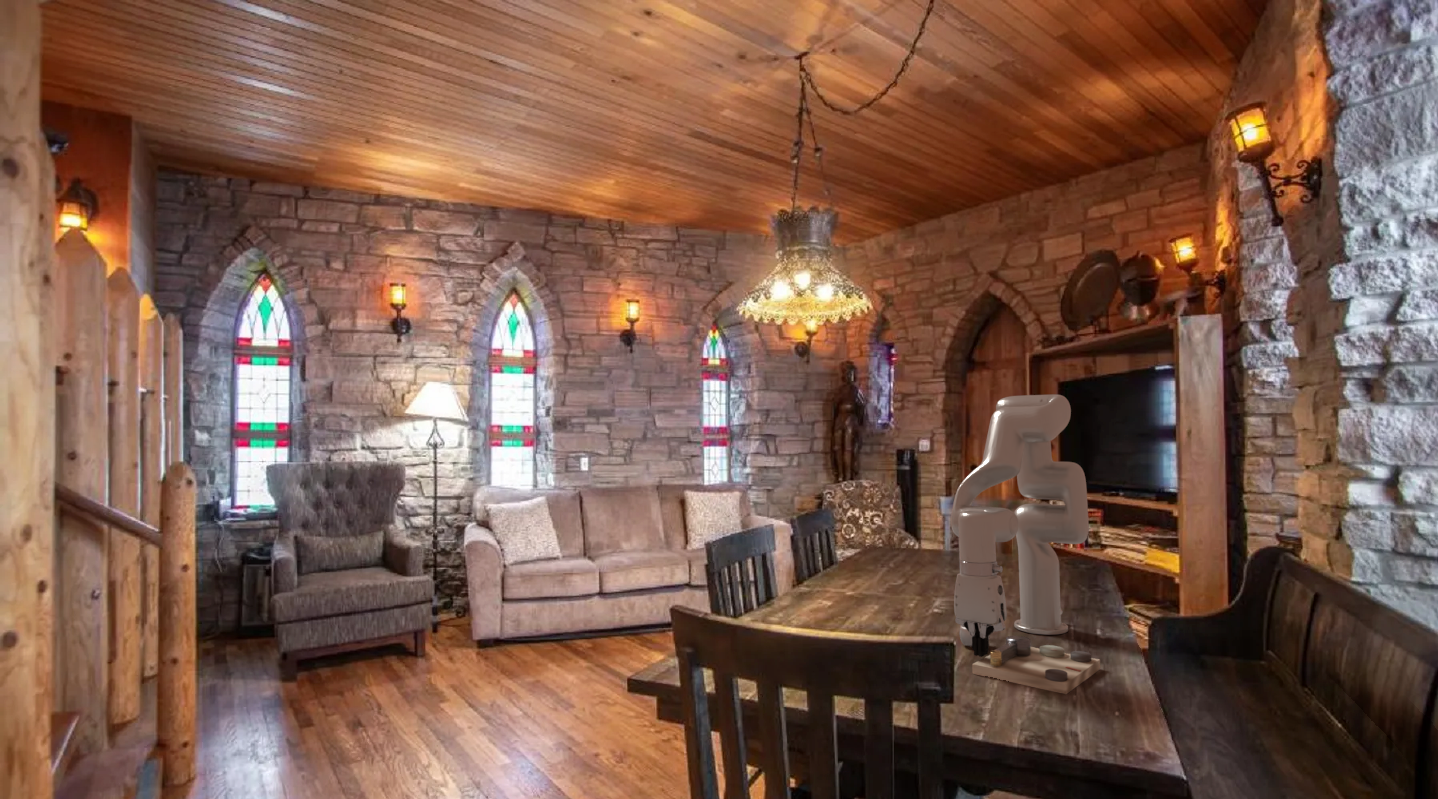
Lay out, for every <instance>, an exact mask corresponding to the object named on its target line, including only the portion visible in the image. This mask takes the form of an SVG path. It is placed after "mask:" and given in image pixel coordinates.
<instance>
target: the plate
mask: <svg viewBox="0 0 1438 799" xmlns="http://www.w3.org/2000/svg"><path fill="white" fill-rule="evenodd" d="M1065 651H1066V650H1065V648H1064V647H1062V646H1059V645H1058V646H1057V645H1053V644H1050V645H1049V644H1046V645H1045V644H1044V645H1040V646H1039V648H1038V647H1033V646H1031V655H1028V656H1014V657H1012V658H1011V659H1009V660H1007V661H1005V662H1004V663H1002V665H1001V666H994V665H991V664H990V654H989V655H986V656H985V657H983V658H981V659H980V660H977V661H976V662H973V663H972V664H971V666H972V671H971V672H972V675H978V676H982V677H985V676H988V677H987V678H990V677H993V678H992V679H994V678H997V679H996V680H999V679H1000V681H1003V680H1006V681H1005V682H1008V681H1009V682H1008V683H1013V684H1018V685H1022V686H1026V687H1032V688H1036V689H1041V690H1045V691H1049V692H1054V693H1059V694H1063V695H1067V694H1068V693H1070V692H1072V691H1073V690H1074V689H1075V688H1076V687H1078V686H1079V685H1081V684H1082V683H1083V682H1085V681H1086V680H1088V679H1089V678H1090V677H1092V676H1093V675H1094V674H1096V673H1097V672H1099V670H1101V658H1100V659H1099V658H1093V657H1092V654H1091V653H1090V652H1087V651H1081V650H1072V651H1070V653H1066V652H1065Z"/></svg>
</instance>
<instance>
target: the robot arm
mask: <svg viewBox="0 0 1438 799" xmlns="http://www.w3.org/2000/svg"><path fill="white" fill-rule="evenodd" d="M1071 412H1072V409H1071V405H1070V402H1069V400H1068V399H1067V397H1065V396H1064V395H1061V394H1035V395H1034V394H1027V395H1010V396H1006V397H1003V398H1000V399H999V400H998V401H997V403H996V405H995V411H994V412H993V414H991V417H990V421H989V426H988V430H987V431H988V432H987V436H986V440H985V445H984V450H983V454H982V461H981V463H980V464H979V465H978V466H977V467H976V468H974V469H973V470H972V471H971V472H970V473H969V474H968V475H967V476H966V477H965V478H964V479H963V480H962V482H960V485H959V486H958V487H957V490H956V492H955V495H954V500H953V504H952V509H951V514H950V527H951V530H952V532H953V534H954V535H955V536H957V537H958V552H959V554H958V555H959V573H957V575H956V580H955V585H954V586H955V587H954V595H953V596H954V597H953V599H954V600H953V601H954V602H953V607H954V608H953V610H954V616H955V620H954V621H955V623H956V624H958V625H962V626H965V628H966V629H967V630H968V631H969V634H970V635H971V636H972V648H971V649H972V651H973V656H975V657H977V656H978V657H980V658H981V657H984V656H987V655H988V653H989V652H990V650H989V649H990V644H989V641H990V636H991V635H992V634H993V632H1003V631H1004V630H1006V624H1005V621H1007V618H1008V617H1007V616H1008V615H1007V614H1008V613H1007V611H1008V610H1007V601H1006V596H1005V595H1006V594H1005V588H1004V585H1003V584H1004V583H1003V580H1002V577H1001V575H997V574H998V573H1002V572H1003V566H1002V565H998V561H997V548H996V543H1005V542H1010V541H1011V540H1013V538H1016V542H1017V543H1016V545H1017V554H1018V579H1019V582H1018V583H1019V610H1020V613H1019V614H1020V615H1019V616H1020V619H1016V620H1014V624H1013V625H1014V628H1015V629H1017V630H1019V631H1022V632H1025V633H1029V634H1035V635H1047V636H1051V635H1052V636H1053V635H1062V634H1066V633H1067V632H1068V631H1069V626H1068V624H1066V623H1065V622H1062V614H1063V613H1064V611H1063V609H1062V608H1061V587H1060V586H1061V584H1060V582H1061V581H1060V561H1059V556H1058V555H1057V553H1056V551H1055V550H1054V548H1053V547H1052V546H1051V545H1050V543H1056V544H1067V545H1068V544H1069V545H1079V544H1083V543H1084V542H1086V540H1087V539H1088V536H1089V535H1088V534H1089V525H1090V524H1089V510H1088V509H1089V506H1088V491H1087V490H1088V489H1087V482H1086V481H1087V480H1086V476H1085V472H1084V469H1083V468H1082V467H1081V465H1079V464H1078V463H1076V462H1072V461H1054V460H1053V457H1052V443H1051V441H1053V440H1054V439H1056V438H1057V436H1059V435H1060V433H1062V432H1063V431H1064V430H1065V429H1066V427H1067V426H1068V424H1069V422H1070V420H1071V414H1072V413H1071ZM1015 477H1016V480H1017V487H1018V491H1019V493H1020V495H1022V497H1025V498H1028V499H1036V500H1057V501H1058V500H1060V501H1062V502H1063V503H1064V504H1052V503H1036V502H1035V503H1033V502H1032V503H1025V504H1021V505H1019V506H1018V507H1017V508H1016V509H1015V510H1014V511H1012V510H1010V509H1009V508H1004V507H999V506H998V507H997V506H996V507H995V506H993V507H992V506H980V505H979V506H977V505H973V503H974V501H975V499H976V498H977V497H978V496H979V495H980V494H981V493H983V492H984V491H986V490H987V489H989V488H991V487H994V486H997V485H999V484H1001V483H1003V482H1006V481H1009V480H1011V479H1013V478H1015ZM1015 536H1016V537H1015ZM979 623H981V629H980V626H979ZM988 636H989V637H988Z"/></svg>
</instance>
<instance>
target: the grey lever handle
mask: <svg viewBox="0 0 1438 799" xmlns="http://www.w3.org/2000/svg"><path fill="white" fill-rule="evenodd" d="M1031 642H1032V641H1031V638H1029V637H1028V636H1024V635H1023V636H1022V635H1008V636H1006V637H1005V643H1004V644H1003V645H1001V646H999V647H997V648H995V649H993V650H989V655H990V664H991V665H994V666H1001V665H1002V663H1004V662H1005V661H1007V660H1009V659H1011V658H1012V657H1014V656H1028V655H1031V647H1032V644H1031Z"/></svg>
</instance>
